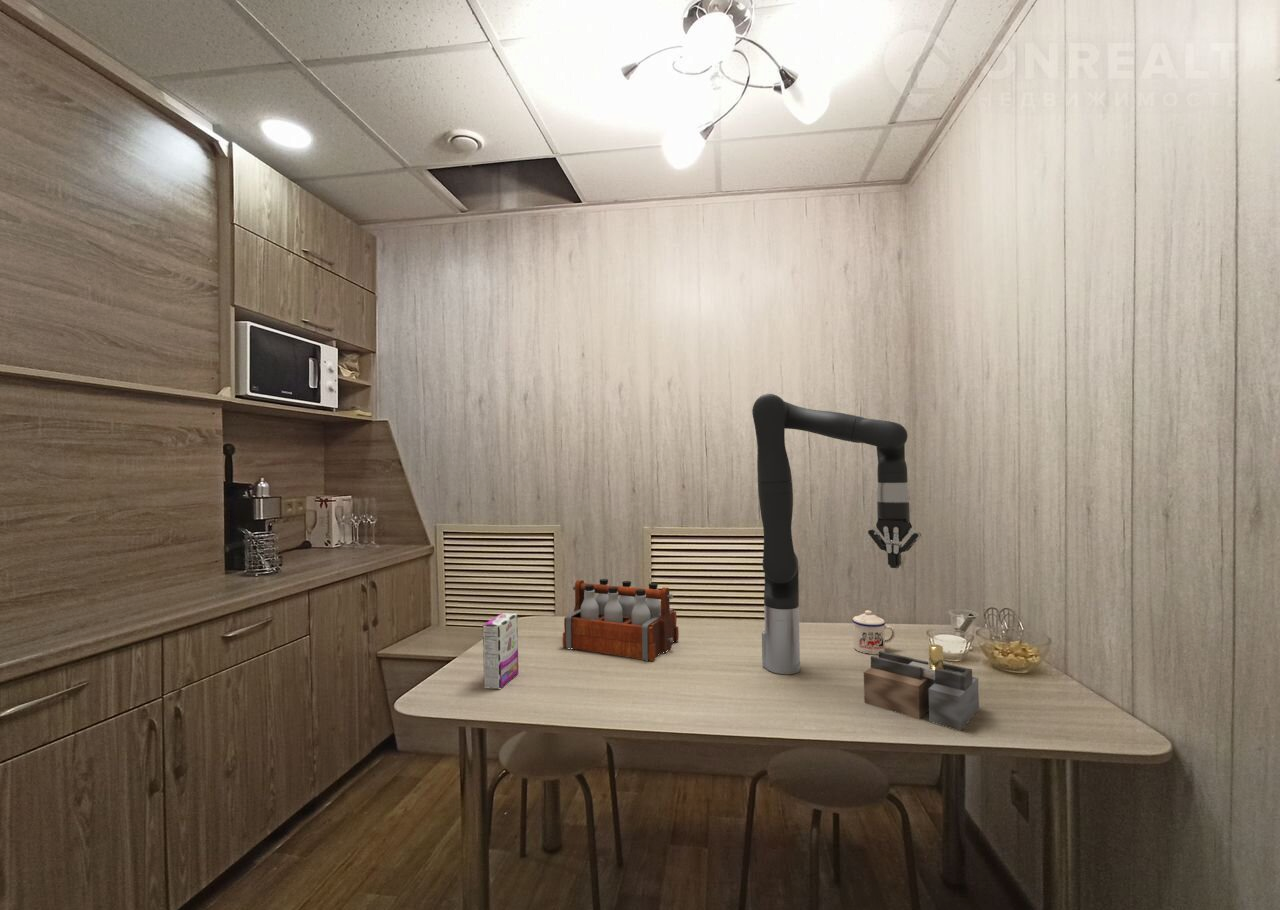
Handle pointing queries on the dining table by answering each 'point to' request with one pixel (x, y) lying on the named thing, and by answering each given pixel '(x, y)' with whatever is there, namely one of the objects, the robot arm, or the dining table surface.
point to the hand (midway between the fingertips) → (894, 567)
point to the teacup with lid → (870, 633)
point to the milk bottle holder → (621, 620)
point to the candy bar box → (500, 650)
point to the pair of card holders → (921, 690)
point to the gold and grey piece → (933, 662)
